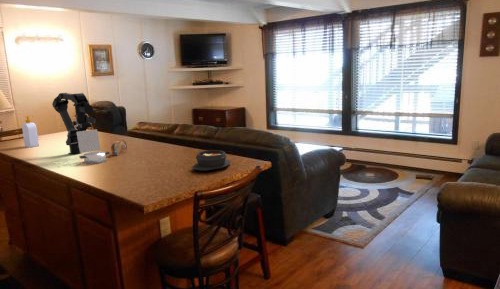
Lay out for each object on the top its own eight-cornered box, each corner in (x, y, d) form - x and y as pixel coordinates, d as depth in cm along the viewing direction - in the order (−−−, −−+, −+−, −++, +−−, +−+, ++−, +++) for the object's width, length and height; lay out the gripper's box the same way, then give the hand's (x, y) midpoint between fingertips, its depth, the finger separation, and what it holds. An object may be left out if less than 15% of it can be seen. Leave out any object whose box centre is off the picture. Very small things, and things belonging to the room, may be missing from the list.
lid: (80, 153, 226) (79, 153, 228) (100, 149, 234) (99, 150, 236) (76, 131, 225) (75, 132, 227) (97, 129, 233) (95, 129, 235)
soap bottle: (40, 145, 283) (36, 115, 278) (30, 147, 277) (26, 116, 273) (34, 144, 288) (30, 115, 283) (24, 146, 282) (20, 116, 278)
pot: (77, 162, 226) (76, 154, 225) (105, 157, 237) (104, 150, 236) (84, 166, 217) (83, 157, 216) (113, 160, 228) (112, 152, 227)
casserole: (210, 175, 190) (209, 159, 189) (183, 171, 200) (182, 155, 199) (238, 164, 211) (238, 150, 209) (212, 161, 221) (212, 147, 219)
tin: (115, 156, 240) (114, 143, 238) (111, 156, 241) (109, 143, 239) (127, 151, 254) (126, 139, 253) (123, 151, 255) (122, 139, 253)
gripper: (98, 112, 238) (101, 137, 241) (88, 111, 252) (90, 134, 255) (80, 114, 231) (83, 139, 234) (70, 112, 244) (73, 136, 248)
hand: (83, 137), depth 243 cm, fingers closed
